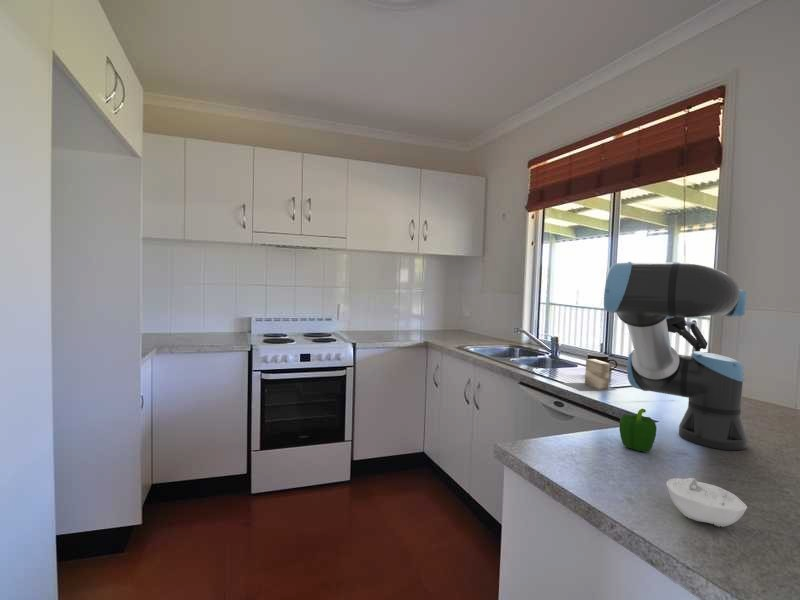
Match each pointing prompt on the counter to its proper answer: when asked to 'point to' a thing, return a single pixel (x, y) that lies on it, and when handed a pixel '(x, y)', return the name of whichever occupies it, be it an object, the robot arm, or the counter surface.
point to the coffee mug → (601, 358)
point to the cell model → (705, 502)
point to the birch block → (597, 373)
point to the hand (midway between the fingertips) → (669, 358)
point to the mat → (585, 387)
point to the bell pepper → (637, 431)
